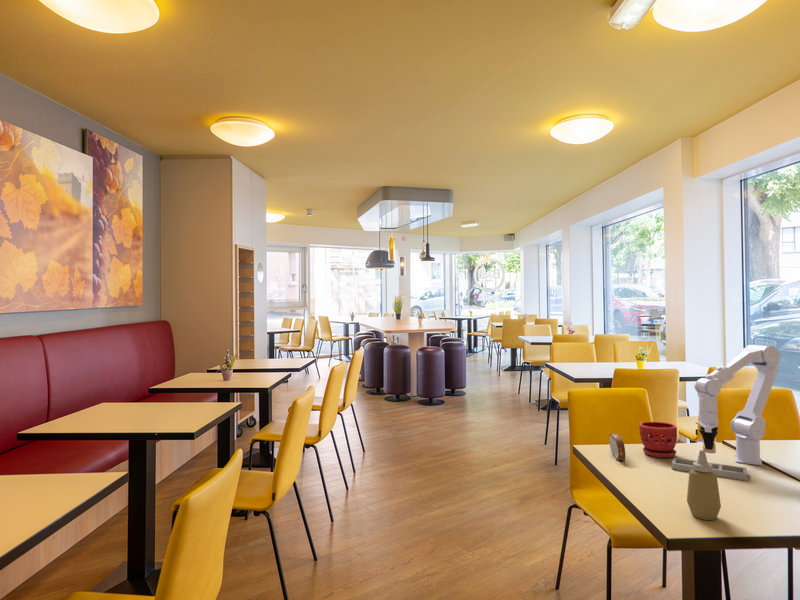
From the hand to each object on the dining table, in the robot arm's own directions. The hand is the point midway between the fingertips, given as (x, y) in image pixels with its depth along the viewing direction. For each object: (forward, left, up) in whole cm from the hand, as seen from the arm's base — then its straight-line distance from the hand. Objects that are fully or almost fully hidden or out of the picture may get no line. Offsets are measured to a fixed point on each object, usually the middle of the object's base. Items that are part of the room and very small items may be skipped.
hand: (709, 447), depth 179 cm
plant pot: (-2, -17, -6) cm, 18 cm away
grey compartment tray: (+11, 0, -6) cm, 12 cm away
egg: (0, 0, -2) cm, 2 cm away
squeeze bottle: (+55, 0, -6) cm, 55 cm away
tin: (+10, -30, -6) cm, 32 cm away
